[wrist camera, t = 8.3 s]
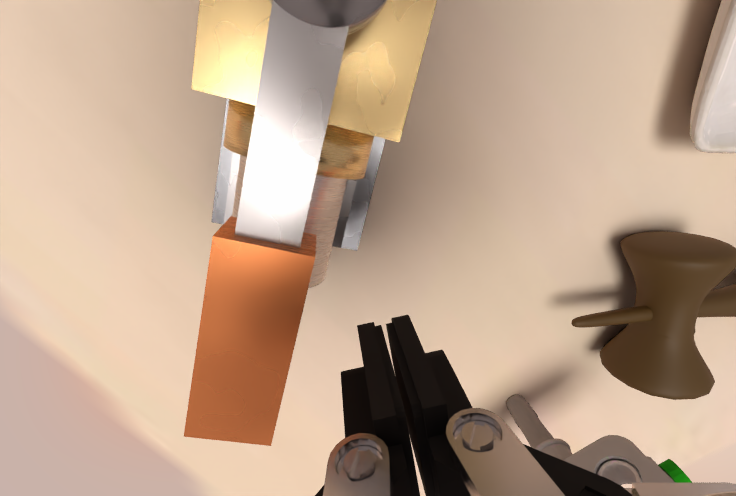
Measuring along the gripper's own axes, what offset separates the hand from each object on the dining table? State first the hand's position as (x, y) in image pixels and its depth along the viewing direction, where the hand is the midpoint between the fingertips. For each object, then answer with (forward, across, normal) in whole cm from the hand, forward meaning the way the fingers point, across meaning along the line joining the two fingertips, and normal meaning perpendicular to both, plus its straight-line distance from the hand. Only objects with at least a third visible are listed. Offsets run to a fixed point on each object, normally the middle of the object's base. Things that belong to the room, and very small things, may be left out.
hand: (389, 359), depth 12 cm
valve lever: (0, +2, -6) cm, 6 cm away
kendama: (+12, -22, +8) cm, 26 cm away
